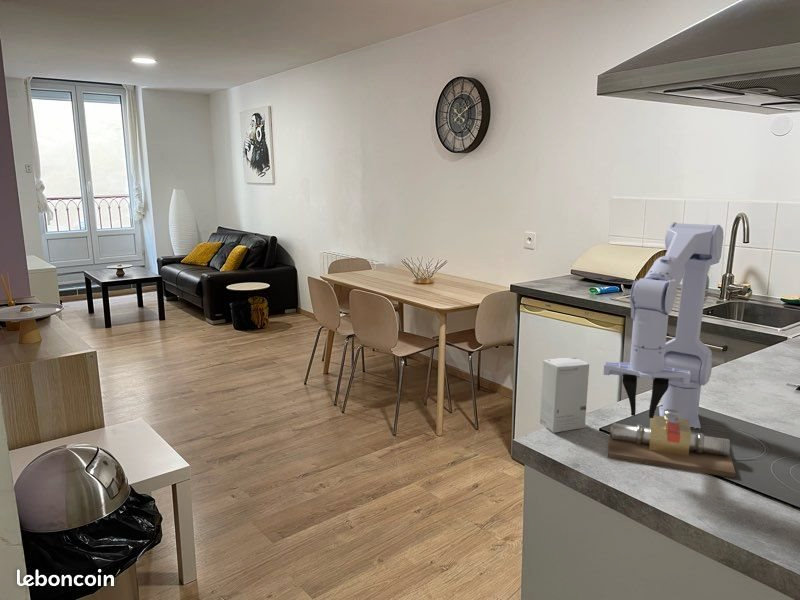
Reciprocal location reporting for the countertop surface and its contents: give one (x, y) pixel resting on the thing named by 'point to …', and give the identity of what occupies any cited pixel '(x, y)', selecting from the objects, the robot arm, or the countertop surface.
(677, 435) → the valve lever
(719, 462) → the base board
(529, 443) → the countertop surface
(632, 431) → the valve housing
